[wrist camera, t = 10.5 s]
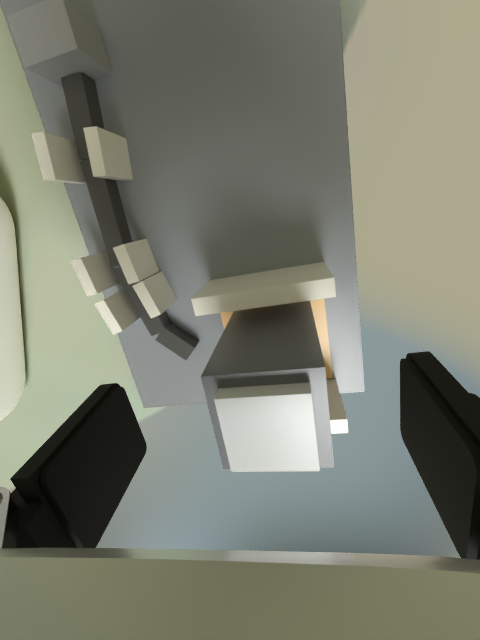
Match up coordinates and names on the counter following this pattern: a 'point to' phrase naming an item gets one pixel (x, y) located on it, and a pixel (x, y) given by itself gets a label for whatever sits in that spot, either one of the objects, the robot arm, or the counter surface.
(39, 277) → the counter surface
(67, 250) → the counter surface
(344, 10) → the counter surface
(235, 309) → the board
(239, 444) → the block
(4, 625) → the robot arm
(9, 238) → the cable organizer
